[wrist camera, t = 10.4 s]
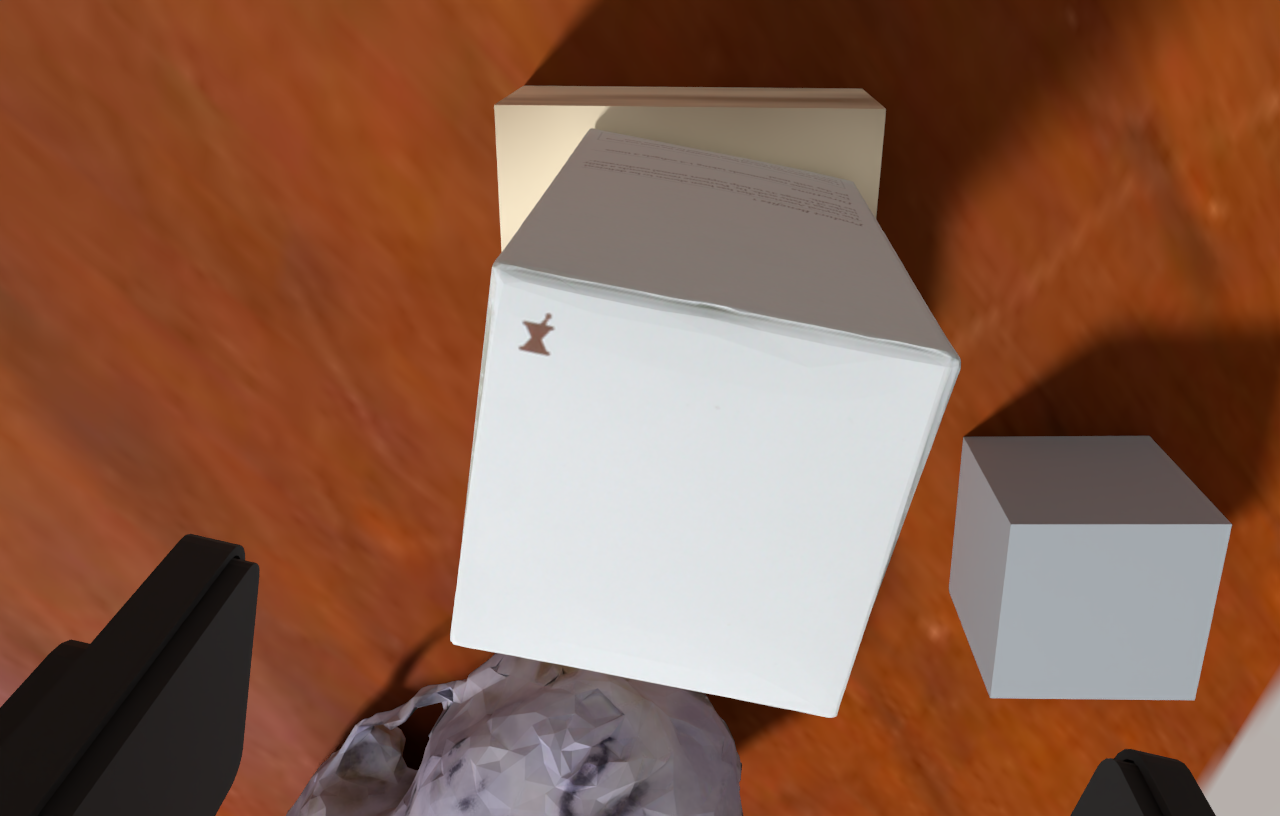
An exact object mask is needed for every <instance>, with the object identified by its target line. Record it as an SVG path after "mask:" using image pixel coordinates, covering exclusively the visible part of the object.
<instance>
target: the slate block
mask: <svg viewBox="0 0 1280 816" xmlns="http://www.w3.org/2000/svg"><path fill="white" fill-rule="evenodd" d="M1231 527H1232V524H1231V523H1230V522H1229V521H1228V519H1227V518H1226V517H1225V516H1224V515H1223V514H1222V513H1221V512H1220V511H1219V510H1218V509H1217V508H1216V507H1215V506H1214V504H1213V503H1212V502H1211V501H1210V500H1209V499H1208V498H1207V497H1206V496H1205V495H1204V494H1203V493H1202V492H1201V491H1200V489H1199V488H1198V487H1197V486H1196V485H1195V484H1194V483H1193V482H1192V481H1191V480H1190V479H1189V478H1188V477H1187V476H1186V474H1185V473H1184V472H1183V471H1182V470H1181V469H1180V468H1179V467H1178V466H1177V465H1176V464H1175V463H1174V462H1173V461H1172V460H1171V458H1170V457H1169V456H1168V455H1167V454H1166V453H1165V452H1164V451H1163V450H1162V449H1161V448H1160V447H1159V446H1158V445H1157V443H1156V442H1155V441H1154V440H1153V439H1152V438H1151V437H1150V436H1012V437H963V447H962V457H961V468H960V478H959V489H958V499H957V510H956V520H955V531H954V541H953V552H952V562H951V573H950V583H949V592H950V595H951V597H952V600H953V603H954V605H955V608H956V610H957V613H958V616H959V618H960V621H961V623H962V626H963V629H964V631H965V634H966V636H967V639H968V642H969V644H970V647H971V649H972V652H973V655H974V657H975V660H976V662H977V665H978V668H979V670H980V673H981V675H982V678H983V681H984V683H985V686H986V688H987V691H988V694H989V696H990V698H1031V699H1128V700H1195V697H1196V692H1197V687H1198V682H1199V678H1200V673H1201V668H1202V663H1203V659H1204V654H1205V649H1206V645H1207V640H1208V635H1209V630H1210V626H1211V621H1212V616H1213V612H1214V607H1215V602H1216V597H1217V593H1218V588H1219V583H1220V579H1221V574H1222V569H1223V564H1224V560H1225V555H1226V550H1227V546H1228V541H1229V536H1230V531H1231Z"/></svg>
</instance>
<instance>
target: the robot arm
mask: <svg viewBox="0 0 1280 816" xmlns="http://www.w3.org/2000/svg"><path fill="white" fill-rule="evenodd" d="M258 584H259V565H258V564H257V563H253V562H249V561H245V552H244V548H243V547H242V546H241V545H237V544H233V543H228V542H224V541H220V540H215V539H211V538H206V537H202V536H198V535H193V534H188V535H185V536H184V537H183V538H182V539H181V540H180V541H179V542H178V543H177V544H176V545H175V547H174V548H173V549H172V550H171V551H170V552H169V554H168V555H167V556H166V557H165V558H164V559H163V561H162V562H161V563H160V564H159V565H158V566H157V567H156V569H155V570H154V571H153V572H152V573H151V574H150V576H149V577H148V578H147V579H146V580H145V581H144V582H143V584H142V585H141V586H140V587H139V588H138V589H137V591H136V592H135V593H134V594H133V595H132V596H131V598H130V599H129V600H128V601H127V602H126V603H125V604H124V606H123V607H122V608H121V609H120V610H119V611H118V613H117V614H116V615H115V616H114V617H113V618H112V620H111V621H110V622H109V623H108V624H107V625H106V626H105V628H104V629H103V630H102V631H101V632H100V633H99V635H98V636H97V637H96V638H95V639H94V640H93V642H92V643H91V644H88V643H84V642H79V641H75V640H69V641H66V642H64V643H61V644H60V645H59V646H58V647H56V648H55V649H54V650H53V651H52V652H51V653H50V654H49V655H48V656H47V657H46V658H45V659H44V660H43V661H42V662H41V664H40V665H39V666H38V667H37V668H36V669H35V670H34V671H33V672H32V673H31V675H30V676H29V677H28V678H27V679H26V680H25V681H24V682H23V683H22V684H21V686H20V687H19V688H18V689H17V690H16V691H15V692H14V693H13V694H12V695H11V697H10V698H9V699H8V700H7V701H6V702H5V703H4V704H3V705H2V706H1V708H0V816H215V815H216V813H217V811H218V809H219V808H220V806H221V804H222V802H223V800H224V799H225V797H226V795H227V793H228V791H229V790H230V788H231V786H232V784H233V781H234V779H235V776H236V774H237V771H238V768H239V765H240V761H241V757H242V751H243V741H244V730H245V720H246V709H247V699H248V689H249V678H250V668H251V657H252V647H253V636H254V626H255V615H256V605H257V594H258ZM1071 816H1216V815H1215V814H1214V812H1213V810H1212V809H1211V807H1210V805H1209V803H1208V801H1207V800H1206V798H1205V796H1204V794H1203V793H1202V791H1201V789H1200V787H1199V786H1198V784H1197V782H1196V780H1195V779H1194V777H1193V775H1192V774H1191V772H1190V770H1189V769H1188V768H1187V767H1186V765H1185V764H1184V763H1182V762H1180V761H1179V760H1176V759H1172V758H1167V757H1163V756H1159V755H1154V754H1150V753H1145V752H1141V751H1137V750H1132V749H1125V750H1123V751H1121V752H1120V753H1118V754H1117V756H1116V757H1115V758H1114V759H1111V758H1109V759H1105V760H1103V761H1102V762H1101V763H1100V764H1099V766H1098V767H1097V769H1096V771H1095V773H1094V774H1093V776H1092V778H1091V780H1090V782H1089V783H1088V785H1087V787H1086V789H1085V791H1084V792H1083V794H1082V796H1081V798H1080V800H1079V801H1078V803H1077V805H1076V807H1075V809H1074V810H1073V812H1072V814H1071Z"/></svg>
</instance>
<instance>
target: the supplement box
mask: <svg viewBox="0 0 1280 816" xmlns="http://www.w3.org/2000/svg"><path fill="white" fill-rule="evenodd" d="M960 368H961V360H960V357H959V356H958V354H957V352H956V351H955V350H954V348H953V347H952V345H951V344H950V342H949V341H948V339H947V337H946V336H945V334H944V333H943V331H942V329H941V328H940V326H939V324H938V323H937V321H936V319H935V318H934V316H933V315H932V313H931V311H930V309H929V308H928V306H927V304H926V303H925V301H924V299H923V298H922V296H921V294H920V293H919V291H918V289H917V288H916V286H915V284H914V283H913V281H912V279H911V278H910V276H909V274H908V272H907V271H906V269H905V267H904V265H903V264H902V262H901V260H900V259H899V257H898V255H897V254H896V252H895V250H894V249H893V247H892V245H891V243H890V242H889V240H888V238H887V237H886V235H885V233H884V232H883V230H882V229H881V227H880V225H879V223H878V222H877V220H876V218H875V217H874V215H873V213H872V212H871V210H870V209H869V207H868V205H867V203H866V202H865V200H864V198H863V197H862V195H861V193H860V192H859V190H858V189H857V187H856V185H855V184H854V182H852V181H849V180H845V179H840V178H836V177H831V176H827V175H823V174H818V173H814V172H810V171H805V170H800V169H795V168H791V167H786V166H781V165H776V164H771V163H766V162H761V161H756V160H751V159H746V158H741V157H736V156H731V155H726V154H721V153H715V152H710V151H705V150H700V149H695V148H690V147H685V146H680V145H675V144H669V143H664V142H659V141H654V140H649V139H644V138H639V137H634V136H628V135H623V134H618V133H613V132H608V131H603V130H598V129H594V128H592V129H589V131H588V132H587V133H586V135H585V136H584V137H583V139H582V140H581V141H580V143H579V144H578V146H577V147H576V149H575V150H574V152H573V153H572V154H571V156H570V157H569V159H568V160H567V162H566V163H565V164H564V166H563V167H562V169H561V170H560V172H559V173H558V174H557V176H556V177H555V179H554V180H553V181H552V183H551V184H550V186H549V187H548V188H547V190H546V191H545V193H544V194H543V195H542V197H541V198H540V200H539V201H538V202H537V204H536V205H535V207H534V208H533V209H532V211H531V212H530V214H529V215H528V216H527V218H526V219H525V221H524V222H523V223H522V225H521V226H520V228H519V229H518V231H517V232H516V234H515V235H514V236H513V238H512V239H511V240H510V242H509V243H508V245H507V246H506V247H505V249H504V250H503V251H502V253H501V254H500V255H499V257H498V258H497V259H496V261H495V262H494V264H493V266H492V273H491V282H490V291H489V300H488V309H487V318H486V327H485V337H484V346H483V355H482V364H481V373H480V382H479V391H478V401H477V410H476V419H475V428H474V437H473V447H472V456H471V465H470V474H469V483H468V492H467V501H466V510H465V519H464V528H463V537H462V546H461V555H460V564H459V571H458V579H457V588H456V594H455V603H454V610H453V617H452V625H451V634H450V641H451V642H452V643H453V644H454V645H458V646H462V647H467V648H473V649H479V650H484V651H489V652H495V653H500V654H506V655H512V656H517V657H522V658H527V659H532V660H537V661H543V662H548V663H554V664H559V665H565V666H570V667H575V668H580V669H585V670H590V671H595V672H600V673H605V674H610V675H615V676H620V677H625V678H630V679H635V680H640V681H646V682H651V683H656V684H661V685H666V686H671V687H677V688H682V689H687V690H692V691H697V692H702V693H707V694H713V695H718V696H723V697H728V698H733V699H738V700H743V701H748V702H753V703H758V704H763V705H768V706H773V707H778V708H783V709H789V710H794V711H799V712H804V713H808V714H813V715H818V716H822V717H827V718H833V717H835V716H837V714H838V710H839V706H840V703H841V700H842V697H843V694H844V691H845V688H846V685H847V682H848V679H849V676H850V673H851V670H852V667H853V664H854V661H855V658H856V655H857V652H858V649H859V646H860V643H861V640H862V637H863V634H864V631H865V628H866V625H867V622H868V619H869V616H870V613H871V610H872V607H873V605H874V602H875V599H876V596H877V594H878V591H879V588H880V586H881V583H882V580H883V578H884V575H885V572H886V569H887V567H888V564H889V561H890V558H891V556H892V553H893V550H894V548H895V545H896V542H897V539H898V537H899V534H900V531H901V528H902V526H903V523H904V520H905V517H906V515H907V512H908V509H909V506H910V504H911V501H912V498H913V495H914V493H915V490H916V487H917V485H918V482H919V479H920V476H921V474H922V471H923V468H924V466H925V463H926V460H927V458H928V455H929V452H930V450H931V447H932V444H933V441H934V438H935V436H936V433H937V430H938V428H939V425H940V422H941V419H942V417H943V414H944V411H945V409H946V406H947V403H948V400H949V398H950V395H951V392H952V390H953V387H954V385H955V382H956V379H957V377H958V374H959V371H960Z"/></svg>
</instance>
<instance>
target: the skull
mask: <svg viewBox="0 0 1280 816" xmlns="http://www.w3.org/2000/svg"><path fill="white" fill-rule="evenodd" d="M440 702H442V705H443V709H444V710H443V711H442V713H441V715H440V717H439V718H438V720H437V722H436V724H435V725H434V727H433V729H432V730H431V732H430V734H429V742H428V744H427V746H426V748H425V752H424V756H423V760H422V763H421V765H420V767H419V770H413V769H411V768H408V767H407V765H406V763H405V761H404V759H403V757H402V755H403V750H404V745H405V741H406V739H405V736H404V734H403V732H402V730H401V729H399V728H398V727H397V726H399V725H400V724H402V723H404V722H406V720H407V719H408V718H409V717H410V716H411V715H412V714H413V712H414V711H415V710H416V709H417V708H418V707H423V706H427V705H431V704H435V703H440ZM741 769H742V763H740V758H739V755H738V753H737V751H736V746H735V742H734V739H733V737H732V735H731V732H730V730H729V728H728V726H727V724H726V723H725V721H724V720H723V719H722V718H720V717H719V715H718V714H717V712H716V711H715V709H714V707H713V705H712V704H711V702H710V701H709V699H708V698H707V696H706V695H704V694H702V693H700V692H697V691H692V690H687V689H682V688H677V687H671V686H666V685H661V684H656V683H651V682H646V681H640V680H635V679H630V678H625V677H620V676H615V675H610V674H605V673H600V672H595V671H590V670H585V669H580V668H575V667H570V666H565V665H559V664H554V663H548V662H543V661H537V660H532V659H527V658H522V657H517V656H512V655H506V654H500V653H495V654H494V655H493V656H492V657H491V658H490V659H489V660H488V661H486V662H485V663H484V664H482V665H481V666H480V667H478V668H477V669H476V670H474V671H473V672H472V673H471V674H469V676H468V679H465V680H458V681H453V682H449V683H445V684H437V685H428V686H426V687H423V688H421V689H420V690H419V691H418V693H417V694H416V695H415V696H414V697H413V698H412V699H410V700H409V701H408V702H407V703H405V704H403V705H401V706H399V707H397V708H395V709H394V710H391V711H386V712H381V713H376V714H375V715H374V716H372V717H370V718H367V719H364V720H362V721H360V722H359V723H358V724H356V725H355V727H354V728H353V730H352V732H351V733H350V735H349V736H348V738H347V740H346V741H345V743H344V745H343V746H342V747H341V748H340V749H339V750H338V751H337V752H335V753H332V754H331V756H330V757H329V759H328V760H326V761H325V762H324V763H322V764H321V766H320V767H319V768H318V770H317V771H316V772H315V774H314V775H313V777H312V778H311V779H310V781H309V783H308V784H307V786H306V787H305V789H304V790H303V792H302V793H301V795H300V796H299V798H298V799H297V801H296V803H295V804H294V805H293V806H292V808H291V809H290V810H289V811H288V813H287V815H286V816H743V812H742V806H741V800H740V794H739V791H740V786H739V782H740V780H741Z"/></svg>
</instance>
